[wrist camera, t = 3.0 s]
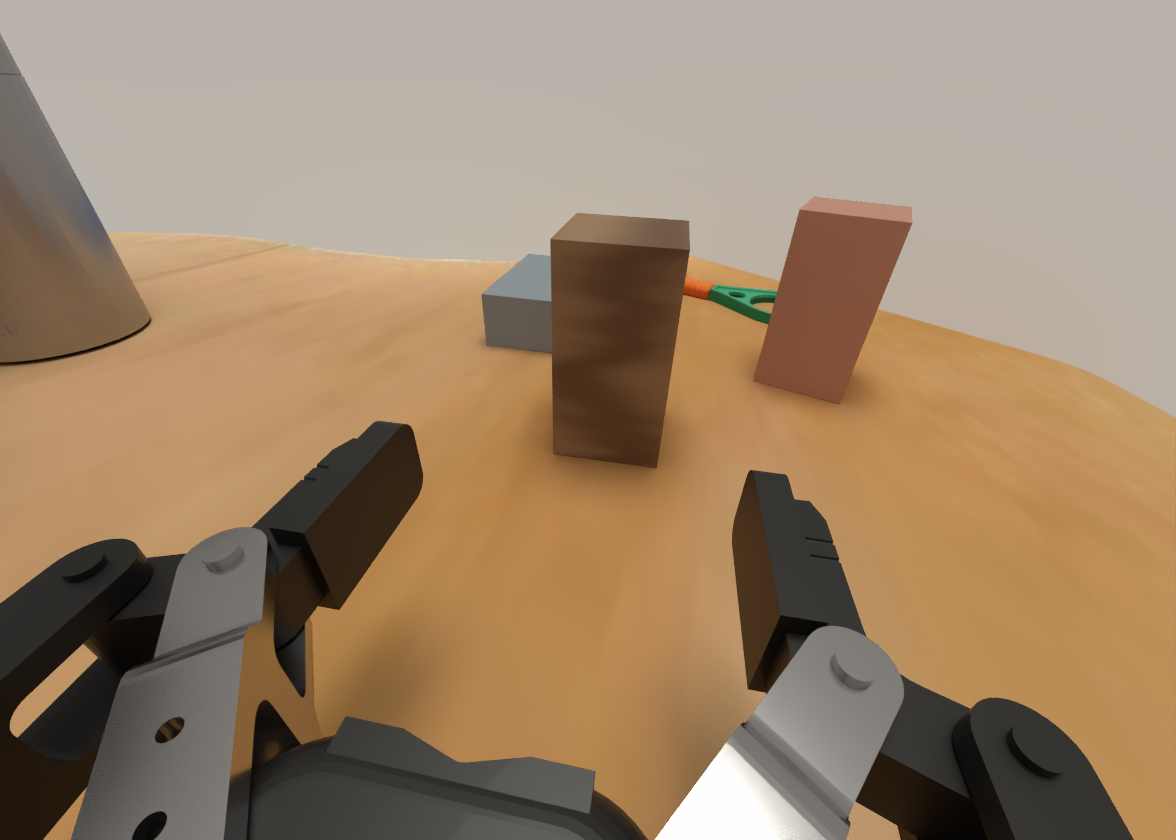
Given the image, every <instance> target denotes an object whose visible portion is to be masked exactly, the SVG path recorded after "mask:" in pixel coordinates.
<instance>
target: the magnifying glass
mask: <svg viewBox="0 0 1176 840" xmlns="http://www.w3.org/2000/svg"><path fill="white" fill-rule="evenodd" d="M777 292H778V291H772V290H763V289H753V288H742V287H732V286H722V285H714V284H712V283H708V282H704V281H700V280H696V279H692V278H688V277H686V278H685V284H684V291H683V294H685V295H689V296H693V297H697V298H701V299H706V300H710V301H713V302H716V303H718V304H721V305H723V306H725V307H727V308H729V309H731V310H734V311H736V312H738V313H740V314H742V315H745V316H747V317H749V318H751V319H754V320H756V321H759V322H763V323H767V324H769V321H770V317H771V314H772V313H771V312H767V311H764V310H761V309H758V308H756V307H754V306H753V305H752V304H755V303H762V302H769V303H775V299H776V295H777Z"/></svg>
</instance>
